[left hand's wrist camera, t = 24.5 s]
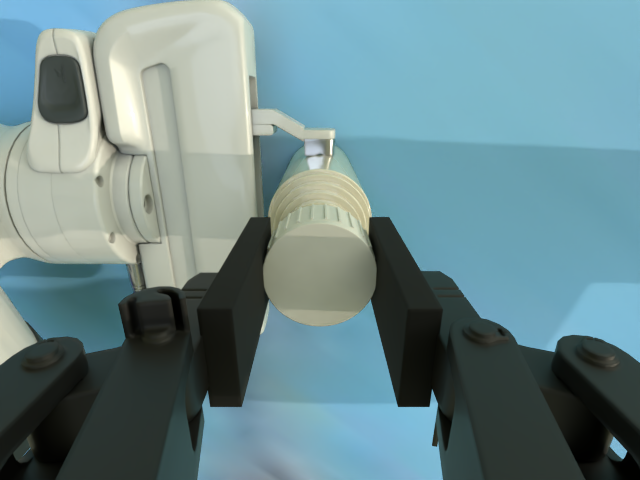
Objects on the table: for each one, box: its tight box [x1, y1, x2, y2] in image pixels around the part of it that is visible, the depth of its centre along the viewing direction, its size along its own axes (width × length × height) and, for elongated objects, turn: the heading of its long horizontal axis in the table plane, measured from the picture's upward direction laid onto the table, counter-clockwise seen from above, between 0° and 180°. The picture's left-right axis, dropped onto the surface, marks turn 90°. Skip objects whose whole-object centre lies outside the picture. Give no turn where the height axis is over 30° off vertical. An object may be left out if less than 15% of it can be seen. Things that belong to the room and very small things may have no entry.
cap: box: [263, 204, 377, 326], centre depth 13 cm, size 4×4×2 cm
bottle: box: [268, 145, 372, 236], centre depth 21 cm, size 5×5×18 cm
